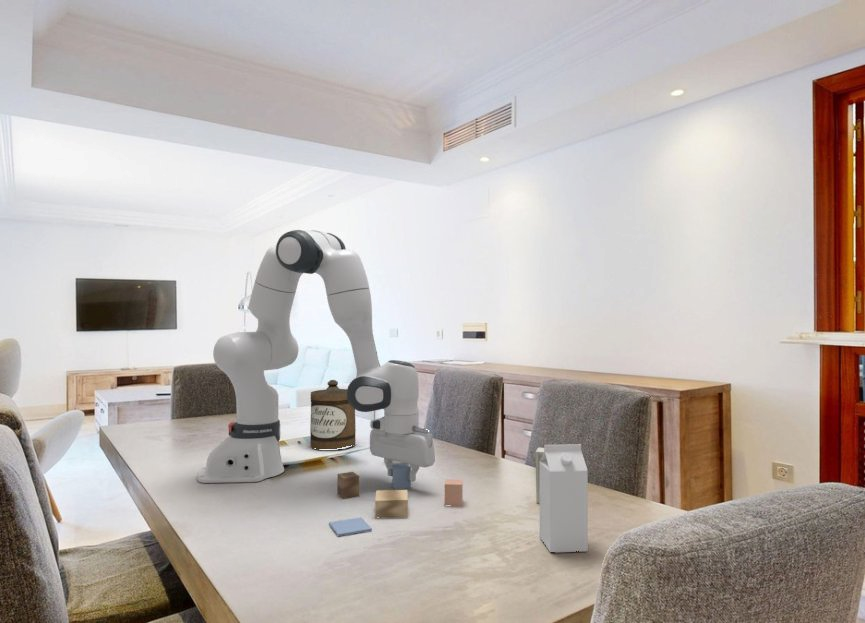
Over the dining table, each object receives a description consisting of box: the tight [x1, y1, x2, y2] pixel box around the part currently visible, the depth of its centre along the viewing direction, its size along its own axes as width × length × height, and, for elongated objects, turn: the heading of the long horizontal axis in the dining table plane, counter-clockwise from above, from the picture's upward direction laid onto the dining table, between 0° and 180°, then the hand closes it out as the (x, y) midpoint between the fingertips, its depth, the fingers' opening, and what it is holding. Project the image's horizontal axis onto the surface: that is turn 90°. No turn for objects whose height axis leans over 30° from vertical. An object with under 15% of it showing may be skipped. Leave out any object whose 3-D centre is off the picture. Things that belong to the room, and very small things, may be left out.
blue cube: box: [391, 464, 412, 490], centre depth 143 cm, size 4×4×5 cm
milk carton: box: [539, 443, 589, 553], centre depth 106 cm, size 7×7×19 cm
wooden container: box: [309, 379, 357, 449], centre depth 187 cm, size 15×15×22 cm
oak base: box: [374, 489, 409, 519], centre depth 124 cm, size 7×7×4 cm
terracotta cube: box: [444, 478, 464, 507], centre depth 130 cm, size 4×4×5 cm
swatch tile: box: [328, 517, 373, 537], centre depth 115 cm, size 7×7×1 cm
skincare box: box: [534, 447, 544, 504], centre depth 131 cm, size 6×4×12 cm
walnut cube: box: [336, 471, 360, 500], centre depth 135 cm, size 4×4×5 cm
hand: (401, 478), depth 143 cm, fingers closed on blue cube, 6 cm apart
